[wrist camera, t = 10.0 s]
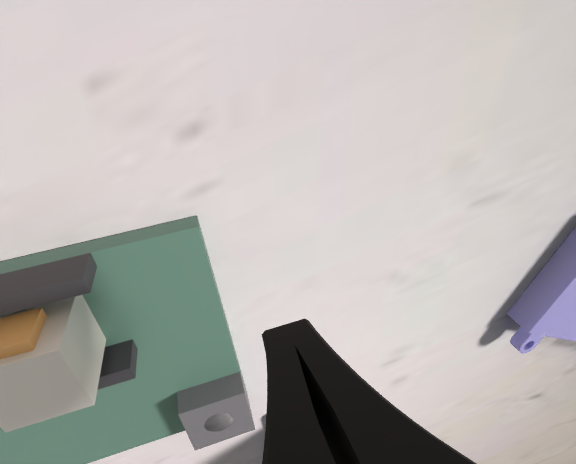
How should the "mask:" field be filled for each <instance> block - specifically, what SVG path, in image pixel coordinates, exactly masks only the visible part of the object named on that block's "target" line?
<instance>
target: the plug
mask: <svg viewBox="0 0 576 464" xmlns="http://www.w3.org/2000/svg"><path fill="white" fill-rule="evenodd" d="M105 343H106V338H105V336H104V334H103V332H102V330H101V329H100V327H99V325H98V323H97V321H96V319H95V317H94V316H93V314H92V312H91V310H90V308H89V306H88V305H87V303H86V301H85V299H84V297H83V295H79V296H76V297H72V298H68V299H64V300H60V301H56V302H52V303H49V304H45V305H41V306H37V307H33V308H29V309H25V310H22V311H18V312H14V313H10V314H6V315H2V316H0V428H1V429H2V430H3V431H4V432H5V433H6V432H10V431H13V430H16V429H19V428H22V427H26V426H29V425H32V424H35V423H38V422H42V421H45V420H48V419H51V418H54V417H58V416H61V415H64V414H67V413H70V412H74V411H77V410H80V409H83V408H86V407H90V406H93V405H95V400H96V395H97V389H98V383H99V378H100V372H101V366H102V360H103V355H104V349H105Z"/></svg>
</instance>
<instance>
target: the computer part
mask: <svg viewBox="0 0 576 464" xmlns="http://www.w3.org/2000/svg"><path fill="white" fill-rule="evenodd" d="M507 315H508V316H509V317H511V318H512V319H513V320H514V321H515V322H516V323H518V324H519V325H520V326H521V327H520V328H519V329H518V330H517V332H516V333H515V334H514V335H513V336H512V338H511V340H510V343H511V344H512V345H513V346H514V347H515V348H516V349H517V350H518V351H519V352H521V353H527V352H529V351H531V350H532V349H533V348H534V347H535V346H536V345H537V344H538V343H539V342H540V341H541V339H542V338H543V337H544V336H548V337H554V338H560V339H566V340H572V341H576V227H575V228H574V229H573V230H572V232H571V233H570V234H569V235H568V237H567V238H566V239H565V241H564V242H563V243H562V244H561V246H560V247H559V248H558V249H557V251H556V252H555V253H554V255H553V256H552V257H551V258H550V260H549V261H548V262H547V263H546V265H545V266H544V267H543V268H542V270H541V271H540V272H539V274H538V275H537V276H536V277H535V279H534V280H533V281H532V282H531V284H530V285H529V286H528V288H527V289H526V290H525V291H524V293H523V294H522V295H521V296H520V298H519V299H518V300H517V301H516V303H515V304H514V305H513V307H512V308H511V309H510V310H509V312H508V313H507Z"/></svg>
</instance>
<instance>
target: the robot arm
mask: <svg viewBox="0 0 576 464" xmlns="http://www.w3.org/2000/svg"><path fill="white" fill-rule="evenodd" d="M262 337H263V342H264V347H265V351H266V359H267V416H266V432H265V443H264V452H263V461H262V464H476V463H475V462H473V461H472V460H470V459H469V458H467V457H465V456H464V455H462V454H461V453H459V452H458V451H456V450H455V449H453V448H452V447H450V446H449V445H447V444H446V443H444V442H443V441H441V440H439V439H438V438H436V437H435V436H434V435H432V434H431V433H429V432H428V431H427V430H425V429H424V428H423V427H421V426H420V425H418V424H417V423H416V422H414V421H413V420H412V419H410V418H409V417H408V416H406V415H405V414H404V413H403V412H401V411H400V410H399V409H397V408H396V407H395V406H394V405H392V404H391V403H390V402H389V401H388V400H386V399H385V398H384V397H383V396H382V395H380V394H379V393H378V392H377V391H376V390H375V389H374V388H372V387H371V386H370V385H369V384H368V383H367V382H366V381H365V380H363V379H362V378H361V377H360V376H359V375H358V374H357V373H356V372H355V371H354V370H353V369H352V368H351V367H350V366H349V365H348V364H347V363H346V362H345V361H344V360H343V359H342V358H341V357H340V356H339V355H338V354H337V353H336V352H335V351H334V350H333V349H332V348H331V347H330V346H329V345H328V343H327V342H326V341H325V340H324V339H323V338H322V337H321V336H320V334H319V333H318V332H317V331H316V330H315V328H314V327H313V326H312V325H311V323H310V322H309V321H308V320H306V319H302V320H299V321H296V322H292V323H289V324H286V325H282V326H279V327H276V328H272V329H269V330H266V331H264V333H263V334H262Z"/></svg>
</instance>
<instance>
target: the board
mask: <svg viewBox="0 0 576 464" xmlns="http://www.w3.org/2000/svg"><path fill="white" fill-rule="evenodd" d="M79 295H83V297H84V299H85V301H86V303H87V305H88V306H89V308H90V310H91V312H92V314H93V316H94V317H95V319H96V321H97V323H98V325H99V327H100V329H101V330H102V332H103V334H104V336H105V338H106V343H105V349H104V355H103V360H102V366H101V372H100V378H99V383H98V389H97V395H96V400H95V405H93V406H90V407H86V408H83V409H80V410H77V411H74V412H70V413H67V414H64V415H61V416H58V417H54V418H51V419H48V420H45V421H42V422H38V423H35V424H32V425H29V426H26V427H22V428H19V429H16V430H13V431H10V432H6V433H5V432H4V431H3V430H2V429H1V428H0V464H87V463H90V462H93V461H96V460H99V459H102V458H105V457H108V456H111V455H114V454H117V453H120V452H123V451H126V450H128V449H131V448H134V447H137V446H140V445H143V444H146V443H149V442H152V441H155V440H158V439H161V438H164V437H167V436H170V435H173V434H176V433H179V432H182V431H185V430H186V432H187V434H188V437H189V439H190V441H191V443H192V445H193V447H194V449H195V450H198V449H201V448H203V447H206V446H209V445H212V444H215V443H218V442H221V441H223V440H226V439H229V438H232V437H235V436H238V435H240V434H243V433H246V432H249V431H252V430H255V427H254V422H253V418H252V413H251V409H250V404H249V400H248V395H247V391H246V388H245V384H244V381H243V377H242V374H241V370H240V367H239V363H238V360H237V356H236V352H235V349H234V345H233V342H232V338H231V335H230V331H229V328H228V324H227V320H226V317H225V313H224V310H223V306H222V303H221V299H220V296H219V292H218V289H217V285H216V281H215V278H214V274H213V271H212V267H211V264H210V260H209V257H208V253H207V249H206V246H205V242H204V239H203V235H202V232H201V228H200V225H199V221H198V218H197V216H193V217H188V218H184V219H180V220H176V221H171V222H167V223H163V224H159V225H154V226H150V227H146V228H142V229H137V230H133V231H129V232H125V233H120V234H116V235H112V236H107V237H103V238H99V239H95V240H90V241H86V242H82V243H78V244H73V245H69V246H65V247H61V248H56V249H52V250H48V251H44V252H39V253H35V254H31V255H27V256H22V257H18V258H14V259H9V260H5V261H1V262H0V316H2V315H6V314H10V313H14V312H18V311H22V310H25V309H29V308H33V307H37V306H41V305H45V304H49V303H52V302H56V301H60V300H64V299H68V298H72V297H76V296H79Z"/></svg>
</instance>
